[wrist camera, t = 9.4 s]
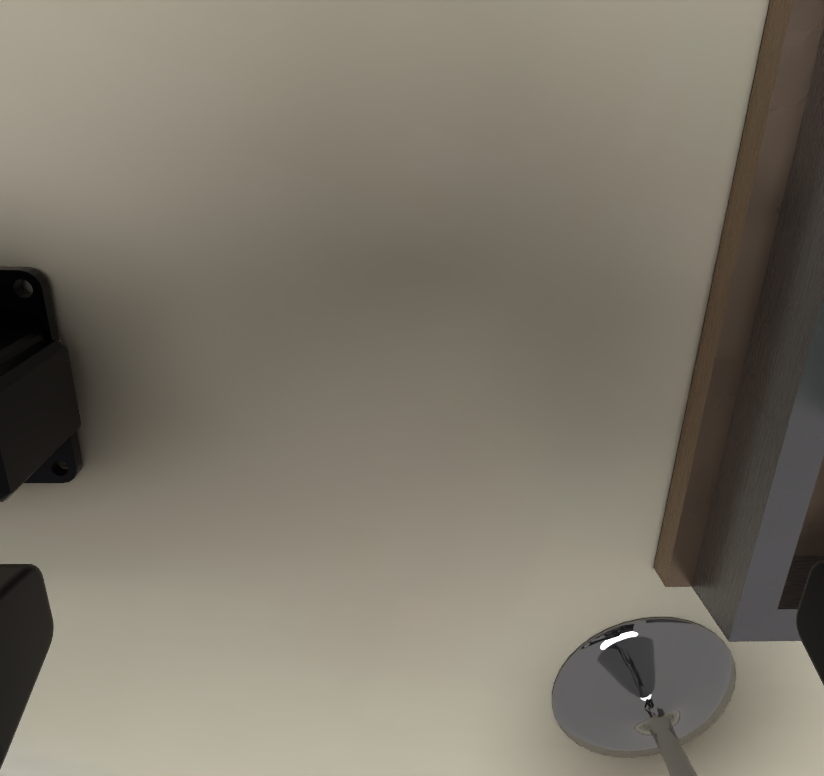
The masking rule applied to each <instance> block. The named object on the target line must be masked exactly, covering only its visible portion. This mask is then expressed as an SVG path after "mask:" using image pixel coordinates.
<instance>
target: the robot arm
mask: <svg viewBox="0 0 824 776" xmlns="http://www.w3.org/2000/svg"><path fill="white" fill-rule="evenodd" d="M22 279H23V280H26V281H28V282H29V283H30V284H31V286H32V288H33V294H28V293H26V292H25V291H24V290H23V289H22V286H21V280H22ZM80 425H81V420H80V415H79V409H78V404H77V399H76V393H75V388H74V382H73V377H72V371H71V366H70V361H69V355H68V350H67V348H66V347H65V346H64V344H63V343H62V342H61V341H60V340H59V335H58V329H57V324H56V319H55V313H54V308H53V303H52V297H51V292H50V287H49V284H48V281H47V279H46V277H45V276H44V275H43V274H42V273H41V272H39V271H38V270H36V269H34V268H29V267H0V502H3V501H5V500H7V499H8V498H9V497H10V496H11V495H12V494H13V493H14V492H15V491H16V490H17V489H18V488H19V487H20V486H21V485H22V484H23V483H65V482H70V481H71V480H73V479H74V478H75V477H76V476H77V475H78V473H79V472H80V471H81V469H82V457H81V452H80V446H79V441H78V436H77V429H78V428H79V427H80ZM57 461H61V462H64V463H65V464H66V465H67V466H68V468H69V469H63V468H61V467H60V466H59V465H58V463H57ZM796 625H797V630H798V634H799V636H800V639H801V641H802V643H803V645H804V647H805V649H806V651H807V653H808V655H809V657H810V659H811V661H812V663H813V665H814V667H815V669H816V671H817V673H818V675H819V677H820V679H821V681H822V683H823V685H824V560H823V561H820V562H817V563H816V564H815V565H814V566H813V567H812V568H811V570H810V573H809V576H808V579H807V582H806V585H805V588H804V591H803V595H802V598H801V601H800V604H799V607H798V610H797V614H796ZM52 637H53V618H52V614H51V609H50V605H49V601H48V596H47V592H46V588H45V583H44V579H43V575H42V573H41V571H40V569H39V568H38V567H37V566H34V565H32V564H1V565H0V769H1V766H2V764H3V762H4V759H5V757H6V755H7V752H8V750H9V747H10V745H11V742H12V740H13V737H14V735H15V732H16V730H17V727H18V725H19V722H20V720H21V717H22V715H23V712H24V710H25V707H26V705H27V702H28V700H29V697H30V695H31V692H32V690H33V687H34V685H35V682H36V680H37V677H38V675H39V672H40V670H41V667H42V665H43V662H44V660H45V657H46V655H47V652H48V650H49V647H50V644H51V641H52Z"/></svg>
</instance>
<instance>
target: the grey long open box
mask: <svg viewBox="0 0 824 776" xmlns="http://www.w3.org/2000/svg"><path fill="white" fill-rule="evenodd" d="M823 560H824V0H770V5H769V10H768V14H767V19H766V24H765V29H764V34H763V39H762V44H761V48H760V53H759V58H758V63H757V68H756V73H755V78H754V82H753V87H752V92H751V97H750V102H749V107H748V112H747V117H746V121H745V126H744V131H743V136H742V141H741V146H740V151H739V155H738V160H737V165H736V170H735V175H734V180H733V185H732V189H731V194H730V199H729V204H728V209H727V214H726V219H725V224H724V228H723V233H722V238H721V243H720V248H719V253H718V258H717V262H716V267H715V272H714V277H713V282H712V287H711V292H710V296H709V301H708V306H707V311H706V316H705V321H704V326H703V331H702V335H701V340H700V345H699V350H698V355H697V360H696V365H695V369H694V374H693V379H692V384H691V389H690V394H689V399H688V403H687V408H686V413H685V418H684V423H683V428H682V433H681V438H680V442H679V447H678V452H677V457H676V462H675V467H674V472H673V476H672V481H671V486H670V491H669V496H668V501H667V506H666V510H665V515H664V520H663V525H662V530H661V535H660V540H659V545H658V549H657V554H656V559H655V564H654V569H655V571H656V572H657V574H658V575H659V577H660V579H661V580H662V582H663V584H664V585H665V587H688V586H692V588H693V589H694V591H695V592H696V594H697V595H698V597H699V598H700V600H701V601H702V603H703V604H704V605H705V607H706V608H707V610H708V611H709V613H710V614H711V616H712V617H713V619H714V620H715V622H716V623H717V625H718V626H719V628H720V629H721V631H722V632H723V634H724V635H725V637H726V638H727V639H728V641H729V642H737V641H801V639H800V636H799V634H798V630H797V625H796V614H797V610H798V607H799V604H800V601H801V598H802V595H803V591H804V588H805V585H806V582H807V579H808V576H809V573H810V570H811V568H812V567H813V566H814V565H815V564H816V563H817V562H820V561H823Z"/></svg>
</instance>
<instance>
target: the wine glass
mask: <svg viewBox="0 0 824 776" xmlns="http://www.w3.org/2000/svg"><path fill="white" fill-rule="evenodd" d="M735 681H736V671H735V662H734V660H733V657H732V654H731V652H730V650H729V649H728V647H727V646H726V644H725V643H724V641H722V640H721V639H720V638H719V637H718V636H717V635H716V634H715V633H714V632H712V631H710V630H708V629H707V628H705V627H703V626H701V625H699V624H696V623H693V622H690V621H687V620H681V619H676V618H661V617H655V618H646V619H638V620H634V621H630V622H626V623H622V624H619V625H617V626H614V627H612V628H609V629H607V630H605V631H603V632H601V633H599V634H598V635H596V636H594V637H592V638H591V639H589V640H588V641H587V642H585V643H584V644H583V645H581V646H580V647H579V648H578V649H577V650H576V651H575V652H574V653H573V654H572V655H571V656H570V657H569V658H568V659H567V661H566V662H565V664H564V665H563V667H562V668H561V669H560V671H559V674H558V676H557V678H556V680H555V683H554V687H553V692H552V708H553V712H554V716H555V718H556V720H557V722H558V724H559V726H560V728H561V729H562V730H563V731H564V732H565V733H566V735H567V736H568V737H569V738H570V739H572V740H573V741H574V742H576V743H577V744H578V745H580V746H582V747H584V748H586V749H588V750H590V751H592V752H596V753H599V754H602V755H607V756H614V757H642V756H649V755H654V754H658V753H661V755H662V757H663V759H664V762H665V764H666V767H667V769H668V772H669V774H670V776H698V775H697V774H696V772H695V770H694V768H693V767H692V765H691V763H690V761H689V759H688V757H687V756H686V754H685V752H684V750H683V748H682V746H681V745H683V744H685V743H687V742H689V741H691V740H692V739H694V738H695V737H697V736H698V735H700V734H701V733H703V732H704V731H705V730H706V729H708V728H709V727H710V726H711V725H712V724H713V723H714V722H715V721H716V720H717V719H718V718H719V716H720V715H721V714H722V713H723V712H724V710H725V708H726V707H727V705H728V703H729V702H730V700H731V697H732V694H733V691H734V688H735Z"/></svg>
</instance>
